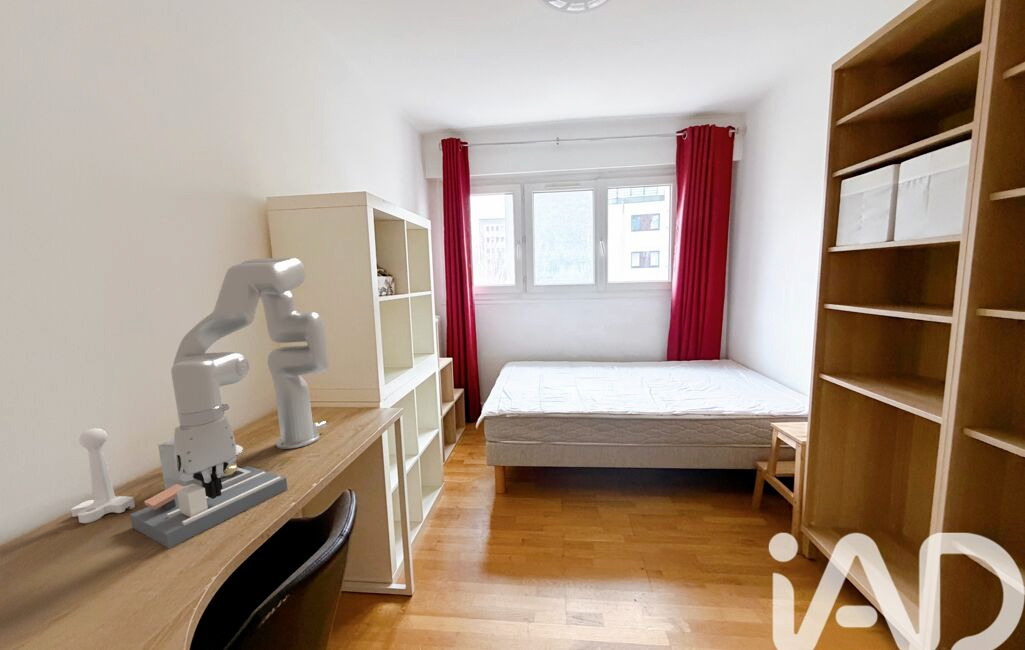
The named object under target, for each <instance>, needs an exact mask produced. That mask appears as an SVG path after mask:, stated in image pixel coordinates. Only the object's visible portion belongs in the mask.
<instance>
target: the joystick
mask: <svg viewBox="0 0 1025 650" xmlns="http://www.w3.org/2000/svg"><path fill="white" fill-rule="evenodd" d="M107 441H108V432H107V431H105V429H102V428H97V427H96V428H95V427H94V428H90V429H88V430H85V431H83V432H82V433H81V435H80V437H79V444H80V445H81V446H82V448H83V447H84V448H85V449H86V450H87V452H88V459H89V469H90V479H91V487H92V489H91V490H92V497H93V499H91V500H85V501H83V502H80V503H79V504H77V505H76V506H73V507H72V508H71V509H70V510H71V511H70V512H71V515H72V516H71V517H74V518H76V517H77V518H78V522H79V523H82V524H89V523H93V522H95V521H97V520H99V519H101V518H102V517H103V516H104V515H106V514H109V513H116V514H120V513H124V512H125V511H126V509H130V510H132V509H133V508H135V507H136V505H135V501H134V500H135V499H134V496H125V495H123V496H116V494H115V491H114V487H113V483H112V480H111V475H110V471H109V468H108V467H109V466H108V463H107V458H106V456H105V452H104V448H103V447H104V444H105V443H106V442H107Z"/></svg>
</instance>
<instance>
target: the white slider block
mask: <svg viewBox="0 0 1025 650" xmlns="http://www.w3.org/2000/svg"><path fill="white" fill-rule="evenodd" d="M177 497H178V503H179V510H180V513H183V514H185V515H187V516H189V517H193V516H195V515H197V514H199V513H201V512H204V511H206V510H208V506H207V500H206V493H205V488H204V487H201V486H199V485H196V484H190V485H188V486H185V487H183V488H180V489H178V490H177Z"/></svg>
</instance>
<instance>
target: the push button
mask: <svg viewBox="0 0 1025 650" xmlns="http://www.w3.org/2000/svg"><path fill="white" fill-rule="evenodd" d="M237 467H238V464H237V462H233V463H232V464H230V465H228V466H227V468H226V469H225V471H224V472H223V476H222V477H221V479H224V478H228V477H231V476H233V475H235V474H237V472H238V469H237Z"/></svg>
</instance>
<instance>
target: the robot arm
mask: <svg viewBox="0 0 1025 650" xmlns="http://www.w3.org/2000/svg"><path fill="white" fill-rule="evenodd" d="M306 272H307V271H306V268H305V265H304V264H303V262H302V260H300V259H298V258H296V257H277V258H275V257H274V258H273V257H272V258H271V257H270V258H268V257H267V258H253V259H247V260H244V261H241V263H239V264H234V265H232V266H231V267H229V268H228V269H227V271H226V272H225V275H224V277H223V280H222V284H221V286H220V290H219V292H218V293H219V294H218V296H217V298H216V299H217V300H216V302H215V305H214V309H213V310H212V312H210V314H208V315H207V316H206V317H204V318H203V319H202V320H200V321H199V322H198V323H197V324H195V325H194V326H193V327H192V328H191V329H190V330H189V331H188V332H186V334H185V335H184V336H183V337H182V339H181V341H180V343H179V345H178V349H177V351H176V354H175V357H174V359H173V365H172V367H171V380H172V386H173V391H174V397H175V404H176V410H177V416H178V422H179V426H176V427H175V429H174V433H173V434H174V435H173V439H174V459H175V467H176V470H177V471H180V475H179V480H181V481H189V480H193V479H197V480H200V481H202V487H204V488H205V493H206V496H207V497H209V498H212V499H214V498H216V497H217V496H221V490H222V482H221V477H222V476H223V472H224V471H225V469H226V468H227V466H228V465H230V464H232V463H236V461H237V460H238V457H237V456H236V445H237V444H236V439H235V436H234V432H233V430H232V426H231V424H230V421H229V418H228V416H226V415H225V412H226V411H227V410H229V409H230V406H229V404H228V403H226V404H224V403H222V398H221V392H220V388H221V387H223V386H228V385H233V384H236V383H238V382H240V381H242V380H243V379H244V378H245V377H246V376H247V375H248V372H249V370H250V363H249V360H248V359H247V357H246V356H245V355H243V354H241V353H240V352H234V351H225V352H224V351H223V352H207V351H208V349H210V347H211V346H212V345H213V344H214V343H216V342H217V341H219V340H220V339H222V338H225V337H227V336H229V335H231V334H233V333H237V332H238V331H239V330H242V329H245V328H246V327H247V326H249V325H250V324H252V323H253V321H254V318H255V314H256V311H257V308H258V303H259V299H260V300H261V303H262V305H263V310H264V317H265V323H266V327H267V332H268V336H269V338H270V340H271V341H272V342H274V343H277V344H285V343H286V344H287V343H288V344H289V343H306V345H305V344H304V345H288V346H287V345H286V346H280V347H276V348H274V349H272V350H271V351H270V353H269V354H268V356H267V367H268V370H269V372H270V374H271V378H272V382H273V386H274V387H273V388H274V393H275V402H276V410H277V418H278V425H279V433H280V437H279V438H278V439H277V440H276V442H275V446H276V448H278V449H280V450H281V449H283V450H284V449H285V450H287V449H290V450H291V449H296V448H301V447H304V446H308V445H311V444H312V443H314V442H316V441H317V440H319V439H320V433H319V430H320V429H323V428H325V427H327V425H328V424H327V422H326V421H321V422H319V423H318V421H316V422H313V415H312V407H311V406H312V405H311V396H310V387H309V384H308V383H307V381H306V380H305V379H304V378H303V377H302V376H305V375H317V374H323V373H325V372H326V371H327V370H328V368H329V366H330V365H329V364H330V356H329V355H330V354H329V349H328V341H327V335H326V328H325V324H324V319H323V318H322V317H321V315H320V314H319V313H317V312H315V311H297V309H296V304H295V299H294V295H293V294H292V292H291V291H292V290H294V289H296V288H298V287H300V286H301V285H303V283H304V281H305V279H306ZM206 352H207V353H206ZM208 468H211V475H210V474H209V471H208Z"/></svg>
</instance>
